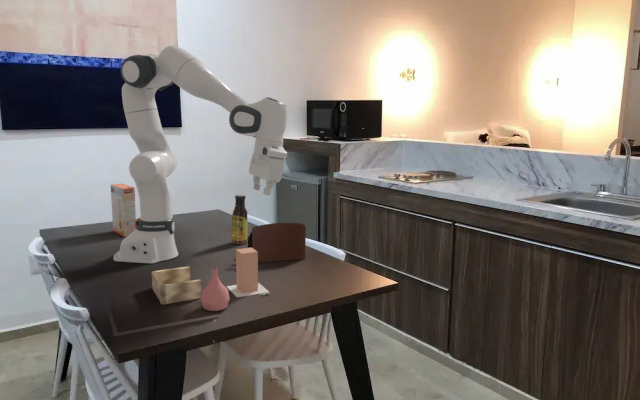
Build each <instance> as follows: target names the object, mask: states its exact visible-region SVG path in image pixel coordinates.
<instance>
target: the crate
mask: <svg viewBox="0 0 640 400" xmlns="http://www.w3.org/2000/svg"><path fill="white" fill-rule="evenodd" d="M150 273H151V289H152V290H153V292H154V294H155V296H156V297H157V299H158V300H159V303H160V304H161V305H168V304H174V303H181V302H186V301H192V300H198V299H201V294H202V291H203V290H202V280H201V279H200V278H199V279H194V280H191V267H190V266H181V267H174V268H166V269H160V270H153V271H151V272H150Z"/></svg>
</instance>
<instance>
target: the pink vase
mask: <svg viewBox="0 0 640 400" xmlns="http://www.w3.org/2000/svg"><path fill="white" fill-rule="evenodd" d="M200 301H201V305H202V308H203V309H204V310H205V311H210V312H220V311H222V310H225V309H227V308H228V305H229V302H230V293H229V289H228V288H227V287H226V286H225V285H224V284H223V283H222V282H221V280H220V278H219V276H218V268H217V267H212V268H211V278H210V279H209V282H208V284H207V285H206V286H205V287H204V288H203V290H202V294H201V298H200Z"/></svg>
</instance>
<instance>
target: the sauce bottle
mask: <svg viewBox="0 0 640 400" xmlns="http://www.w3.org/2000/svg"><path fill="white" fill-rule="evenodd" d="M234 199H235V206H234V209H233V210H232V215H231V243H232V244H234V245H244V244H246V243H248V221H249V219H248V210H247V208H246V202H245V201H246V195H245V194H241V193H239V194H235V195H234Z"/></svg>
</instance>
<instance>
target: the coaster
mask: <svg viewBox="0 0 640 400" xmlns="http://www.w3.org/2000/svg"><path fill="white" fill-rule="evenodd" d="M225 287H226V288H227V289H228V291H230V292H231V293H232V294H233V295H234V296H235V297H236V298H241V297H248V296H253V295H258V294H259V295H260V296H261V295H263V296H267V295H266V294H269V295H270V291H269V290H268V289H266V288H265V287H264V286H263V285H262V284H261V283H260V282H258V290H257V291H251V292H245V293H242V292H241V291H240V290H239V289H237V284H233V285H227V286H225Z"/></svg>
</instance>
